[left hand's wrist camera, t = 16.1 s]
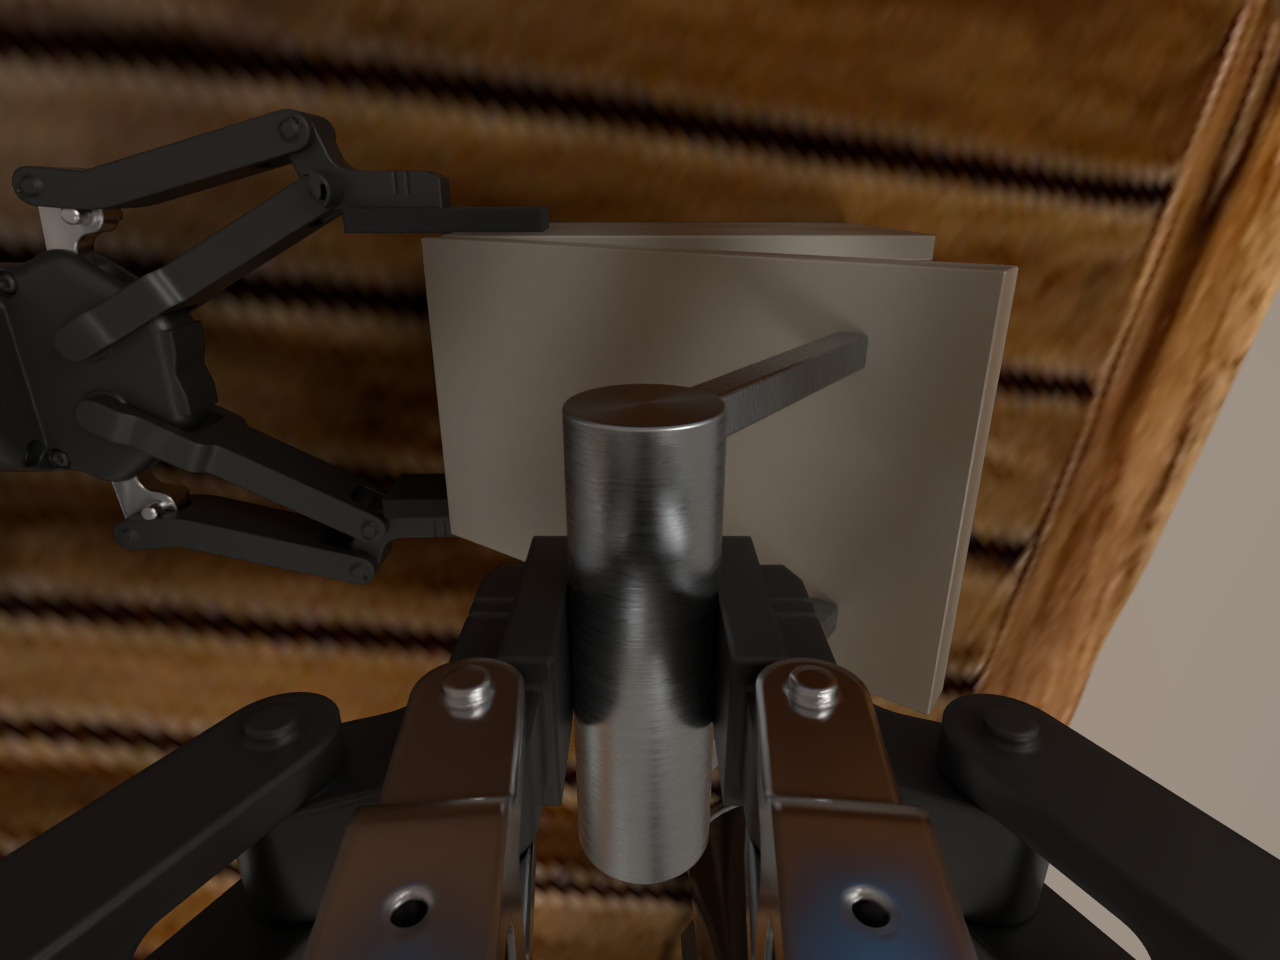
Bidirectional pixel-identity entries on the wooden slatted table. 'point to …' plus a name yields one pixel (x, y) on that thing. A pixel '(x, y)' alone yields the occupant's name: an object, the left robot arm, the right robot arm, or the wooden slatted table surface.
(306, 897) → the left robot arm
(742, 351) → the grey piece
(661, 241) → the chest
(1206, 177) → the wooden slatted table surface
